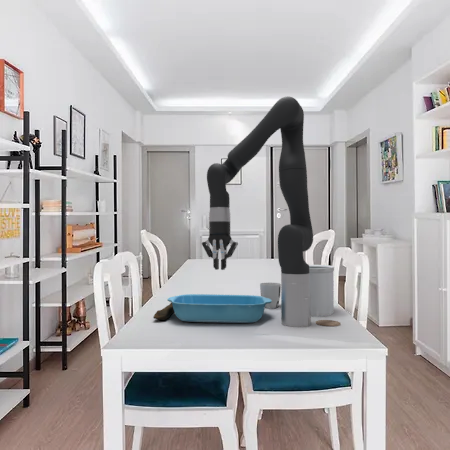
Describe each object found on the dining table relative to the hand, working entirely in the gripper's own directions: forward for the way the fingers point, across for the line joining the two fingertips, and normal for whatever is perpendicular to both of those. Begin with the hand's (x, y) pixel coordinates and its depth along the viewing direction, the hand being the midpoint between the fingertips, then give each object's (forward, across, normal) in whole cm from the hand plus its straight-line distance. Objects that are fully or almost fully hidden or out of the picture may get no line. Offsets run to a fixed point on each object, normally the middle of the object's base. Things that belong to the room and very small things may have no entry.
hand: (219, 269), depth 149 cm
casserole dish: (+18, 0, -1) cm, 18 cm away
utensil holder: (+17, -30, -19) cm, 39 cm away
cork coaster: (+17, -37, -3) cm, 41 cm away
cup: (+17, -13, -21) cm, 30 cm away
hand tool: (+16, +26, -2) cm, 30 cm away
